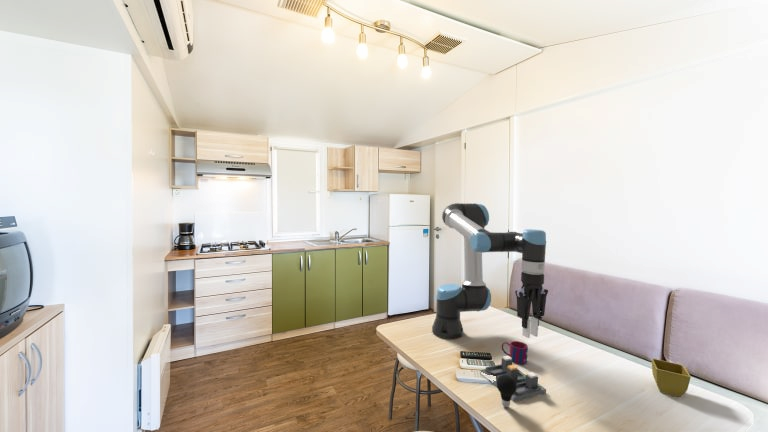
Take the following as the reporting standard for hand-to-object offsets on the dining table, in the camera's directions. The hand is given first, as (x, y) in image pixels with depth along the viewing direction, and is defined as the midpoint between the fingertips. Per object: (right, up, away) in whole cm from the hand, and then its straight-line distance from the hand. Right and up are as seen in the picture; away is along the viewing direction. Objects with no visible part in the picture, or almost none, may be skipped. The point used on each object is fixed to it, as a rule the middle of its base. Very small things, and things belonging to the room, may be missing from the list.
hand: (529, 335), depth 112 cm
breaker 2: (-3, -15, -6) cm, 17 cm away
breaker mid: (-7, -15, -2) cm, 17 cm away
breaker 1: (-7, -14, +5) cm, 17 cm away
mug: (+1, -16, +15) cm, 22 cm away
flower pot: (+46, -18, -5) cm, 50 cm away
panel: (-7, -16, -2) cm, 18 cm away
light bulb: (-15, -17, -15) cm, 27 cm away
